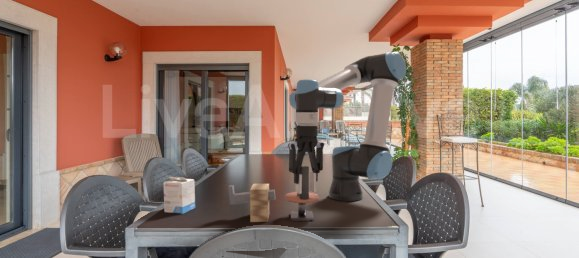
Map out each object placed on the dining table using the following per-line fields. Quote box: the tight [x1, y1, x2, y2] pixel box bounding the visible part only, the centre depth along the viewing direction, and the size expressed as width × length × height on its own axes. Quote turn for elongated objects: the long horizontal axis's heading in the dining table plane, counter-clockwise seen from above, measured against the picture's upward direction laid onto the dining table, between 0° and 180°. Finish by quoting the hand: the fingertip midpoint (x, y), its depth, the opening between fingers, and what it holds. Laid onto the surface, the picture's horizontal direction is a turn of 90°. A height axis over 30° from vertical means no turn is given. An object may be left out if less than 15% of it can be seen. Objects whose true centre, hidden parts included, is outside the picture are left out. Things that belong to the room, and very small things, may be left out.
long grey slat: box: [227, 184, 276, 206], centre depth 116 cm, size 16×3×6 cm, turn 90°
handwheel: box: [284, 165, 320, 204], centre depth 116 cm, size 12×12×12 cm
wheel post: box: [290, 203, 315, 222], centre depth 117 cm, size 8×8×6 cm
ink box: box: [163, 176, 196, 215], centre depth 126 cm, size 9×8×13 cm
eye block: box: [249, 183, 270, 223], centre depth 116 cm, size 6×10×11 cm, turn 1°
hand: (305, 191), depth 113 cm, fingers open, 5 cm apart
